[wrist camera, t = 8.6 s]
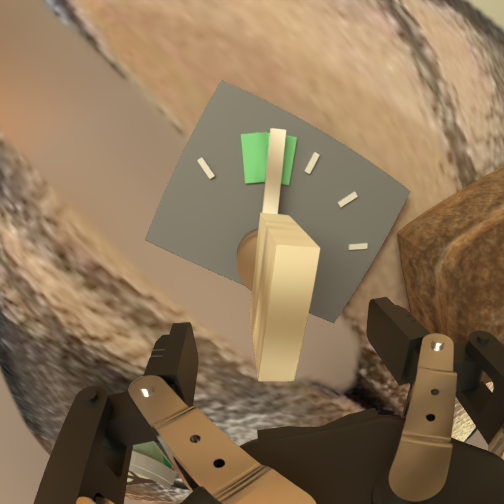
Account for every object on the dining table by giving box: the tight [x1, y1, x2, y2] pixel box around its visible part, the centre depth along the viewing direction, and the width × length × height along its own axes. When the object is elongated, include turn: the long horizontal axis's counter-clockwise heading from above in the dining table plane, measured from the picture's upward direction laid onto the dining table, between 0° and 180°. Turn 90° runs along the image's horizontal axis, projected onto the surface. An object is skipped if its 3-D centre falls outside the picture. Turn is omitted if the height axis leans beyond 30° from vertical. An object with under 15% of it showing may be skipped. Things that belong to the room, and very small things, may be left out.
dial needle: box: [237, 128, 320, 381], centre depth 17 cm, size 12×4×10 cm, turn 175°
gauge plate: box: [145, 80, 410, 323], centre depth 22 cm, size 13×17×2 cm
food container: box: [126, 441, 177, 490], centre depth 24 cm, size 12×6×10 cm, turn 109°
